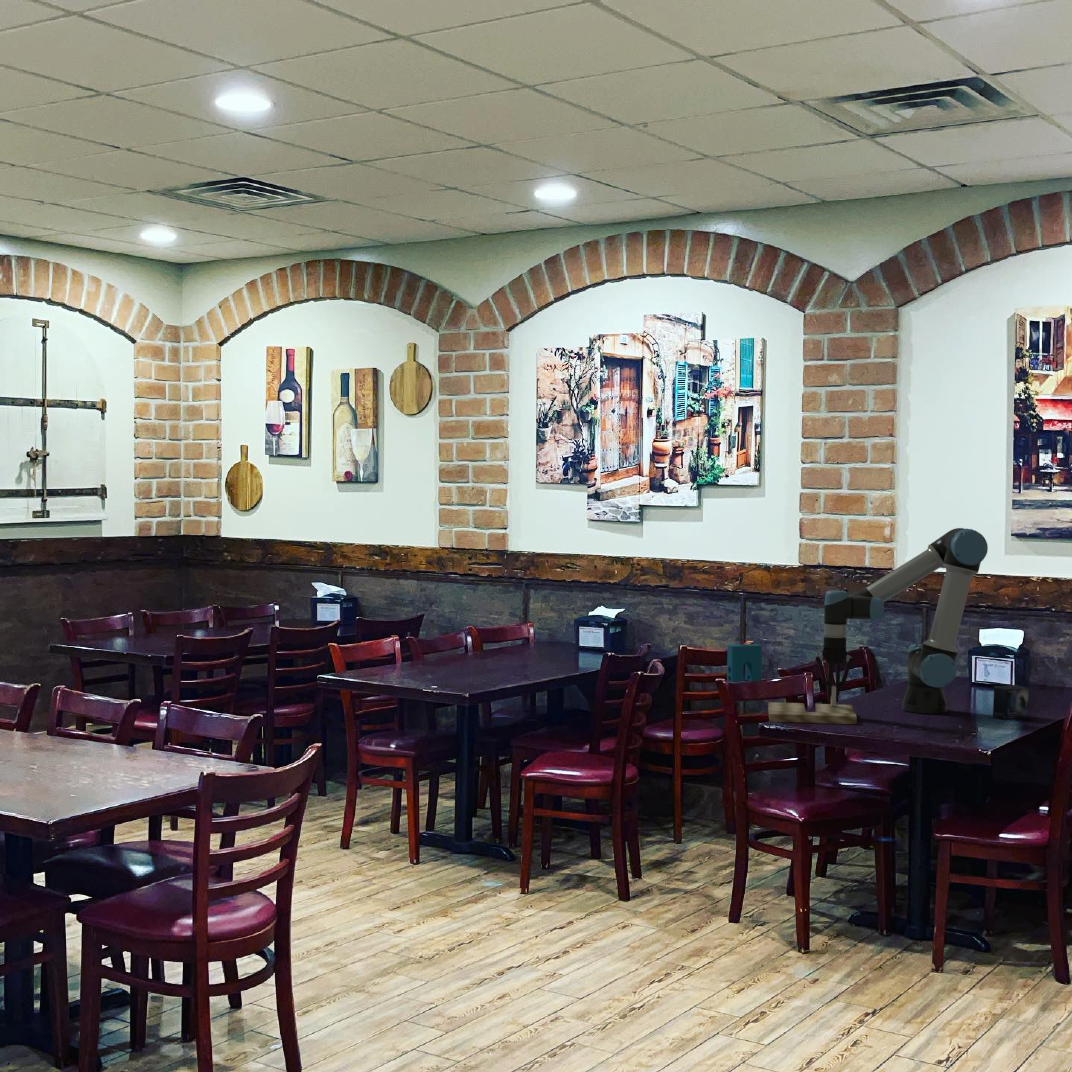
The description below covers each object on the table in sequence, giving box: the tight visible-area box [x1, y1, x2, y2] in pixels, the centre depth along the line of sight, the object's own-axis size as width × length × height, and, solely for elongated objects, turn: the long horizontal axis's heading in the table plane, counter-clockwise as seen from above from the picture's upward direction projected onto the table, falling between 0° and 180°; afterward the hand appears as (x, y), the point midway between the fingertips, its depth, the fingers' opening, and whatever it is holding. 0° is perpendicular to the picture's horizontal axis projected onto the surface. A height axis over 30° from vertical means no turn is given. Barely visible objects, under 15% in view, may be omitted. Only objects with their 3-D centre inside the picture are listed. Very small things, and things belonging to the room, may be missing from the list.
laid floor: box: [768, 711, 858, 725], centre depth 449 cm, size 28×6×2 cm, turn 82°
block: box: [726, 643, 763, 703], centre depth 490 cm, size 12×5×20 cm, turn 110°
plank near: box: [815, 703, 856, 714], centre depth 457 cm, size 12×13×2 cm
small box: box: [992, 684, 1030, 720], centre depth 459 cm, size 11×6×10 cm, turn 117°
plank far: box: [767, 701, 807, 714], centre depth 460 cm, size 12×13×2 cm
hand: (833, 705), depth 461 cm, fingers closed
